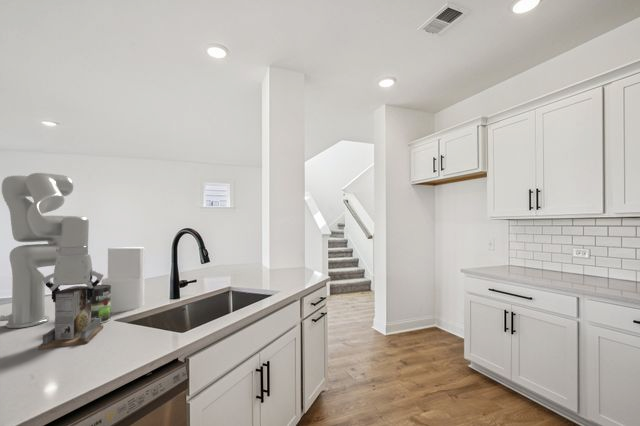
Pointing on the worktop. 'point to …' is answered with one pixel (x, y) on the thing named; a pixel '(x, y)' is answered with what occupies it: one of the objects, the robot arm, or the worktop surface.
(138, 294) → the tall white block
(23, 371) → the worktop surface
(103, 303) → the coffee can
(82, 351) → the worktop surface
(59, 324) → the coffee box
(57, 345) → the dock
